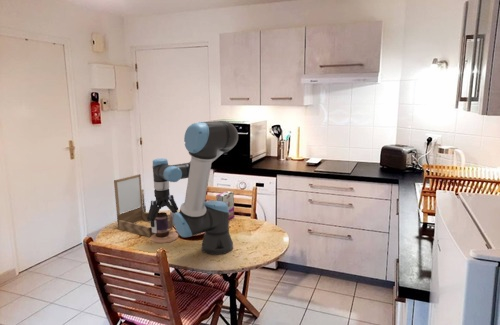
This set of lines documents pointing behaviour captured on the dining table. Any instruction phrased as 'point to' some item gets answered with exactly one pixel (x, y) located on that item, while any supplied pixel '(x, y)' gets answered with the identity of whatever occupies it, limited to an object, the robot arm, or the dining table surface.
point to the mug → (163, 224)
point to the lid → (128, 193)
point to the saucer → (165, 238)
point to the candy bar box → (227, 201)
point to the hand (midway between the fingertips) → (164, 228)
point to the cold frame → (134, 216)
